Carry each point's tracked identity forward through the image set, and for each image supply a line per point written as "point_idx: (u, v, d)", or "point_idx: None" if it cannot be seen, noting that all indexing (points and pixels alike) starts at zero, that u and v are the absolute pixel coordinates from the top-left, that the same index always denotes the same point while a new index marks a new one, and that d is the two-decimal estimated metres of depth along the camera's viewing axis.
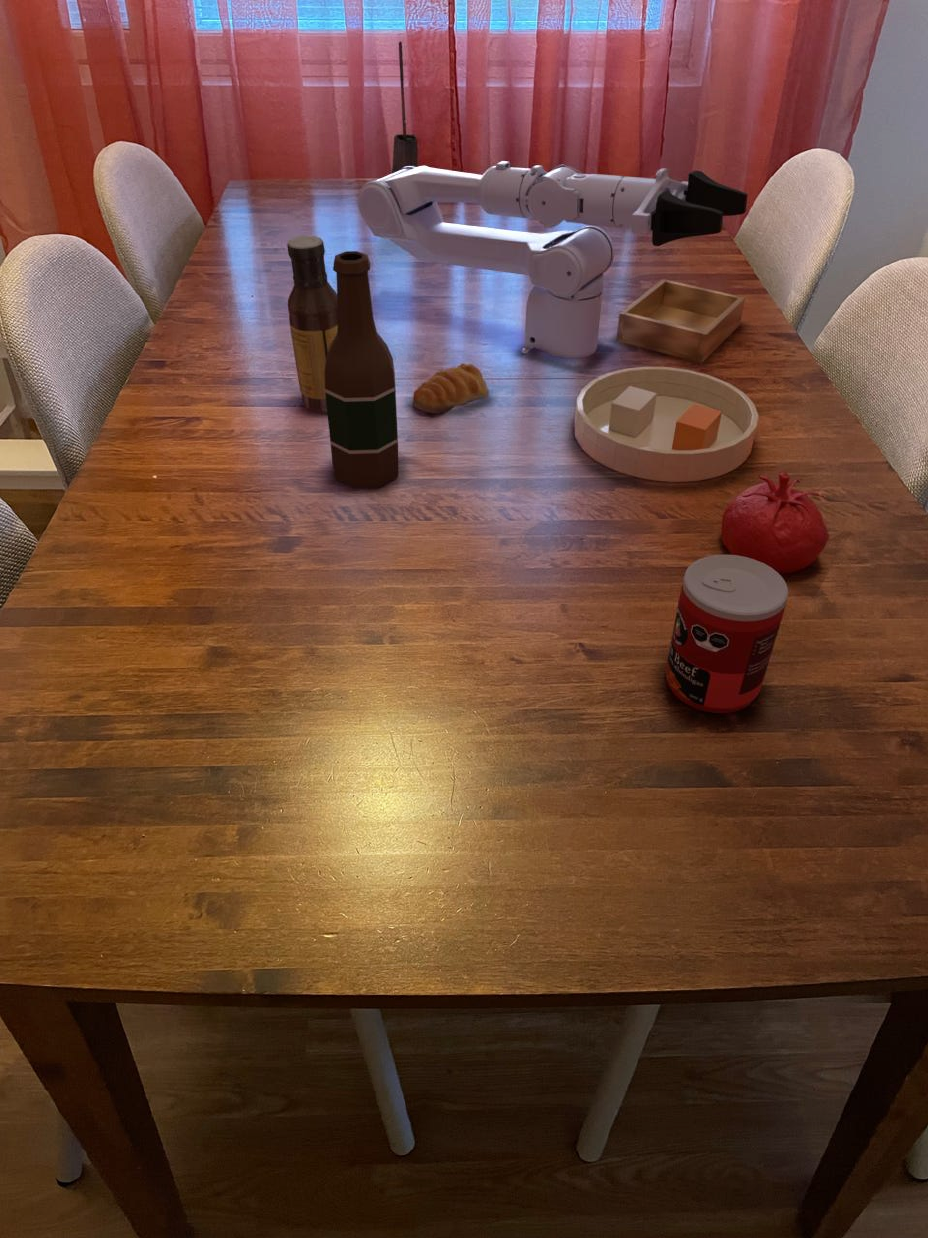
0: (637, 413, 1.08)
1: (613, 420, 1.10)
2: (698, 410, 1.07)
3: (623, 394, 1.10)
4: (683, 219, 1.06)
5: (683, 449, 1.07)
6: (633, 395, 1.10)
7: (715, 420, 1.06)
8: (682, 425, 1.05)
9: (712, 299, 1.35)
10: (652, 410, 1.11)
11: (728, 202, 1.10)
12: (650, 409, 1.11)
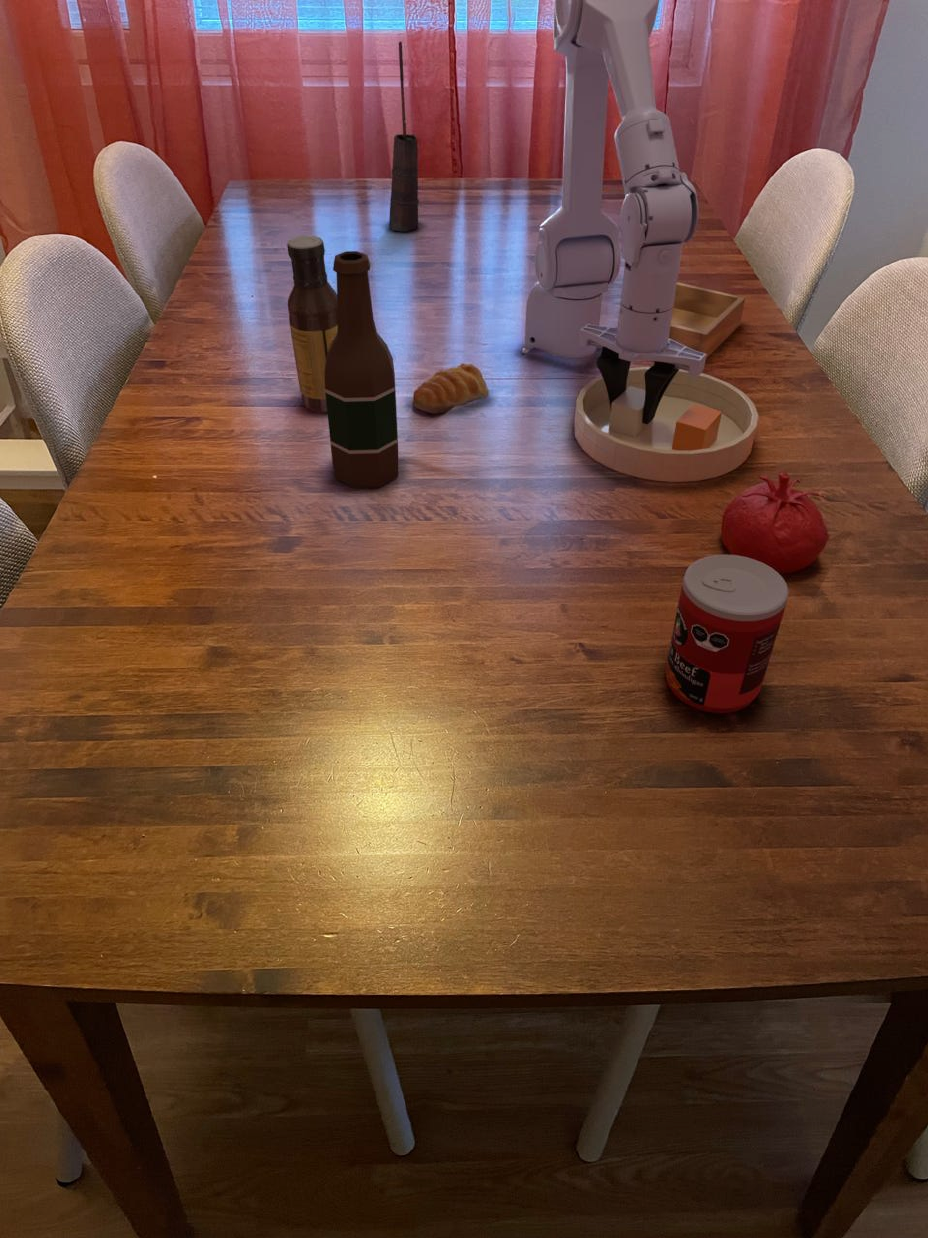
0: (637, 413, 1.08)
1: (613, 420, 1.10)
2: (698, 410, 1.07)
3: (623, 394, 1.10)
4: None
5: (683, 449, 1.07)
6: (633, 395, 1.10)
7: (715, 420, 1.06)
8: (682, 425, 1.05)
9: (712, 299, 1.35)
10: None
11: None
12: None
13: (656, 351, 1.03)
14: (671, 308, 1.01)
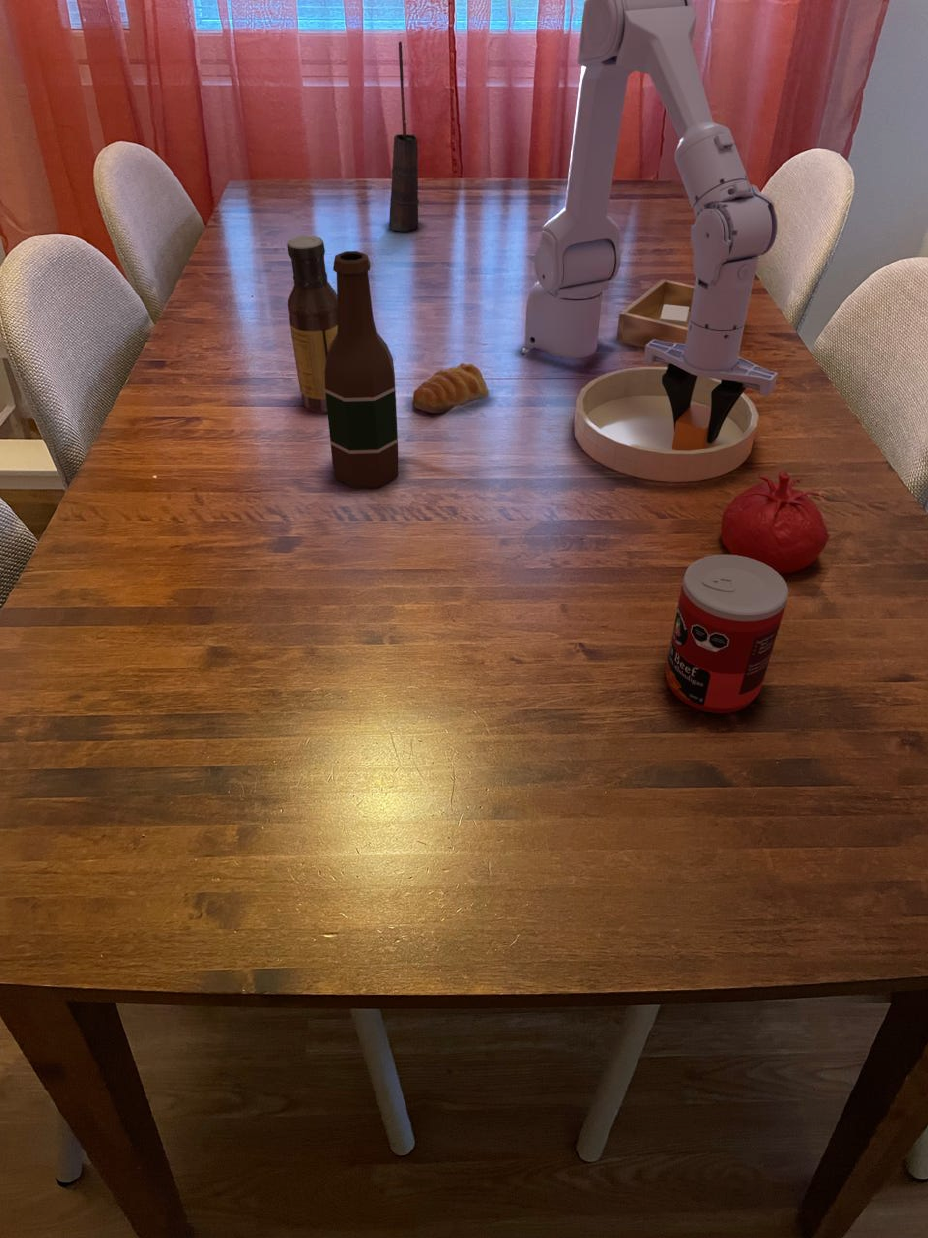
0: (684, 323, 1.27)
1: None
2: (697, 410, 1.07)
3: (664, 311, 1.29)
4: None
5: (683, 449, 1.07)
6: (672, 310, 1.29)
7: None
8: (682, 425, 1.05)
9: None
10: None
11: None
12: None
13: None
14: None
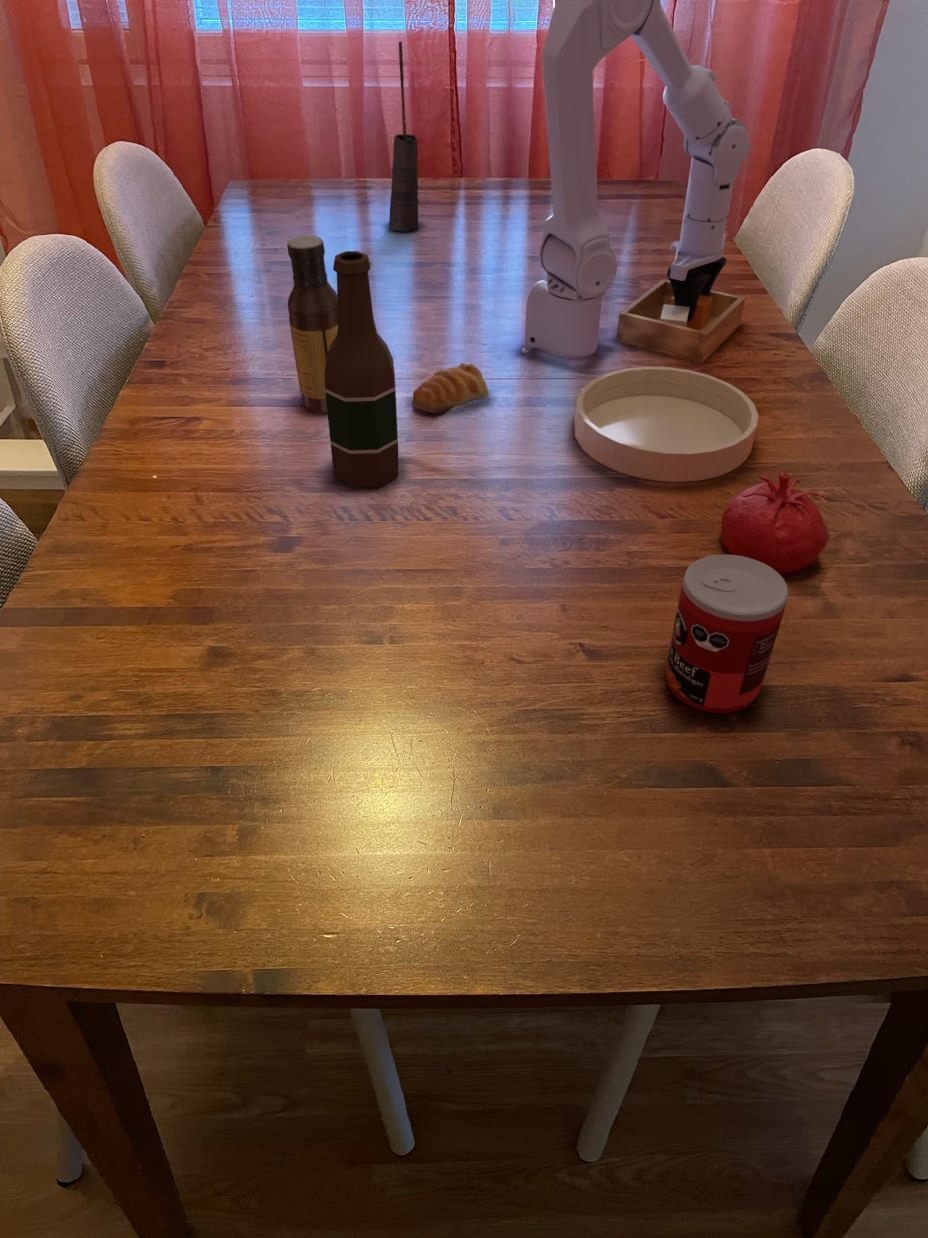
0: (684, 323, 1.27)
1: None
2: None
3: (664, 311, 1.29)
4: None
5: (704, 324, 1.34)
6: (672, 310, 1.29)
7: None
8: (706, 305, 1.31)
9: None
10: None
11: None
12: None
13: (682, 251, 1.27)
14: (697, 221, 1.24)
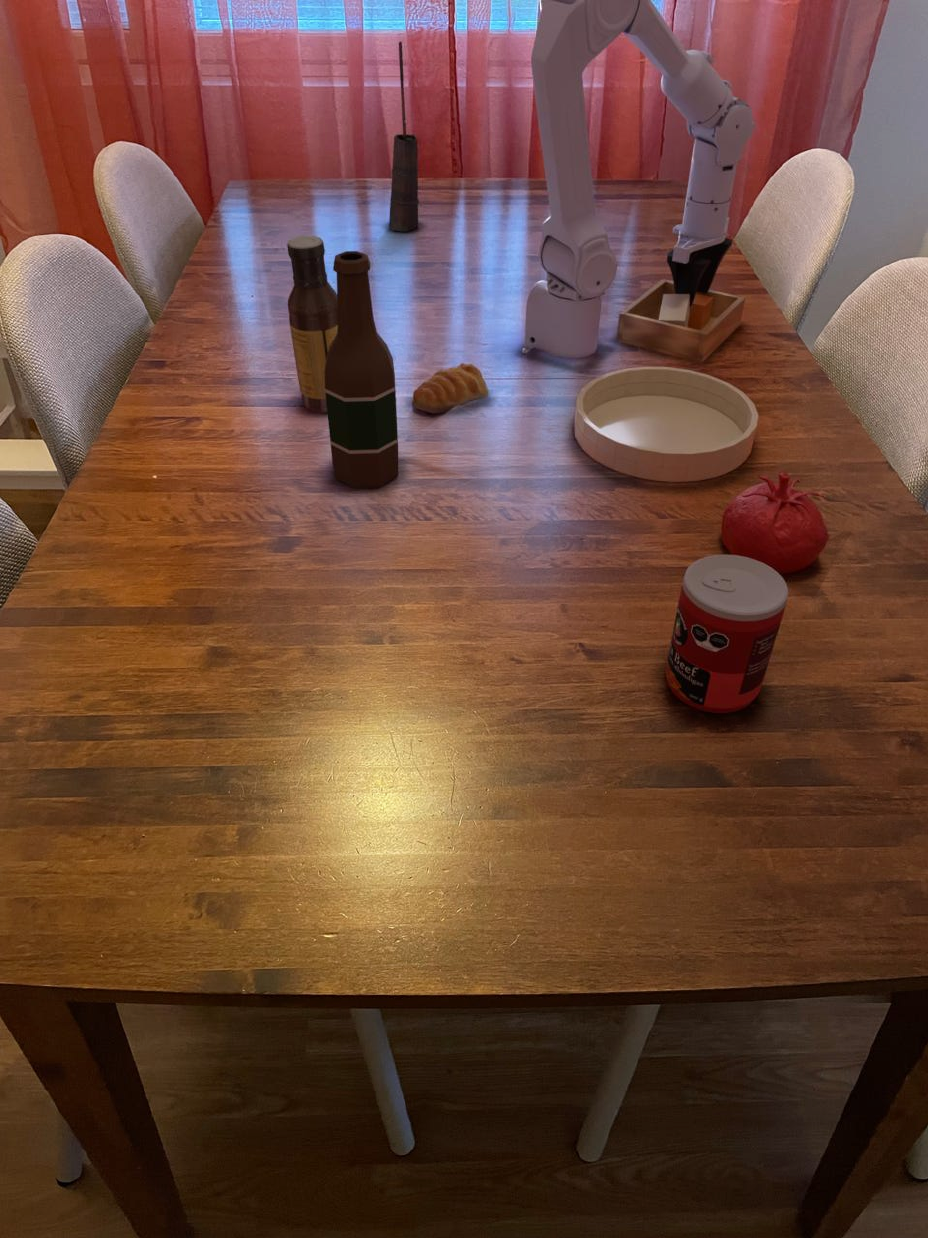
0: (683, 322, 1.26)
1: None
2: None
3: (663, 306, 1.28)
4: None
5: (704, 324, 1.34)
6: (672, 304, 1.28)
7: None
8: (706, 305, 1.31)
9: None
10: (689, 308, 1.30)
11: None
12: (688, 309, 1.29)
13: (684, 234, 1.26)
14: (700, 202, 1.22)
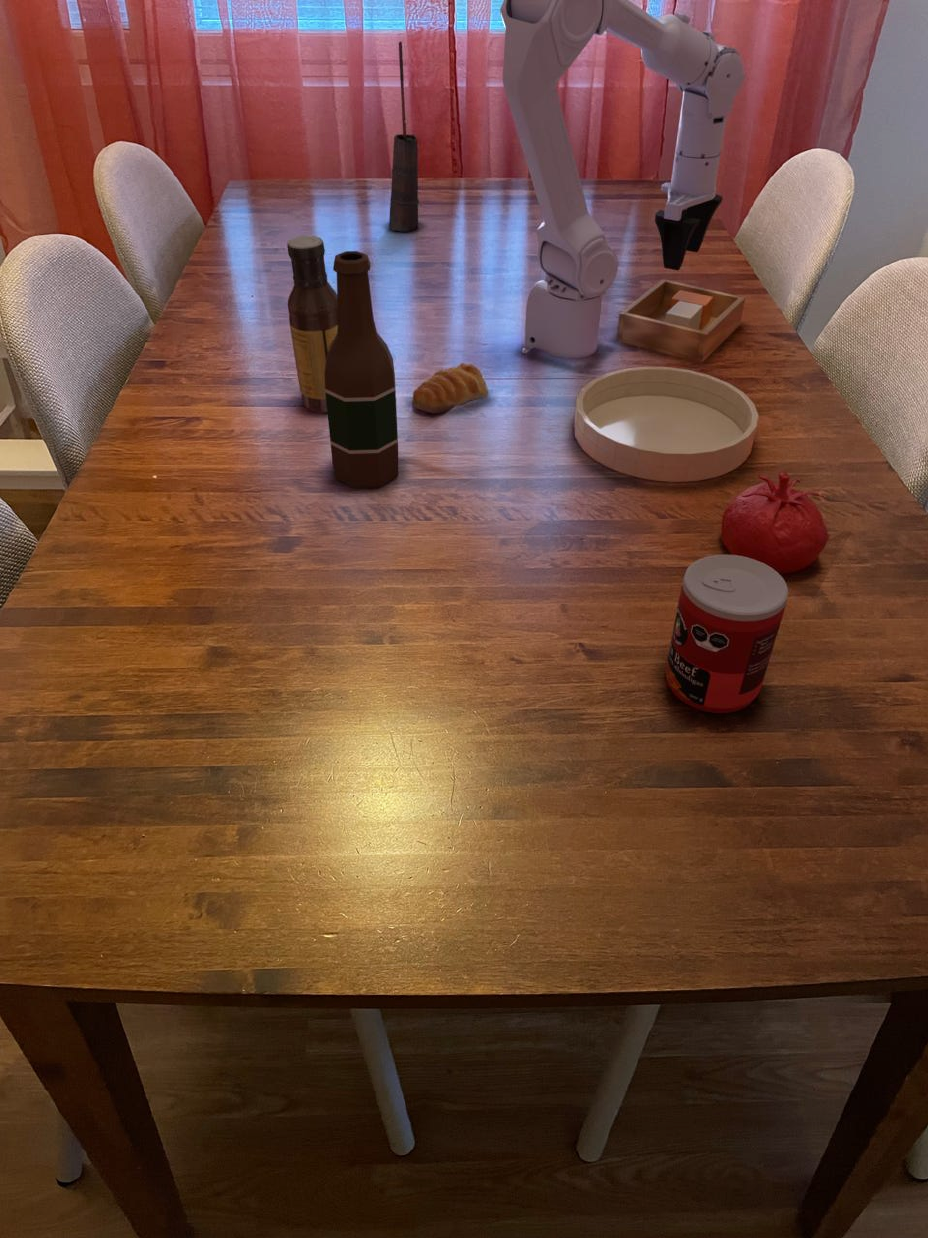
0: (688, 320, 1.28)
1: None
2: (683, 297, 1.33)
3: (675, 306, 1.30)
4: None
5: (705, 323, 1.34)
6: (683, 307, 1.30)
7: None
8: (707, 305, 1.32)
9: None
10: (699, 320, 1.32)
11: None
12: (698, 319, 1.31)
13: (674, 191, 1.22)
14: (690, 157, 1.19)
